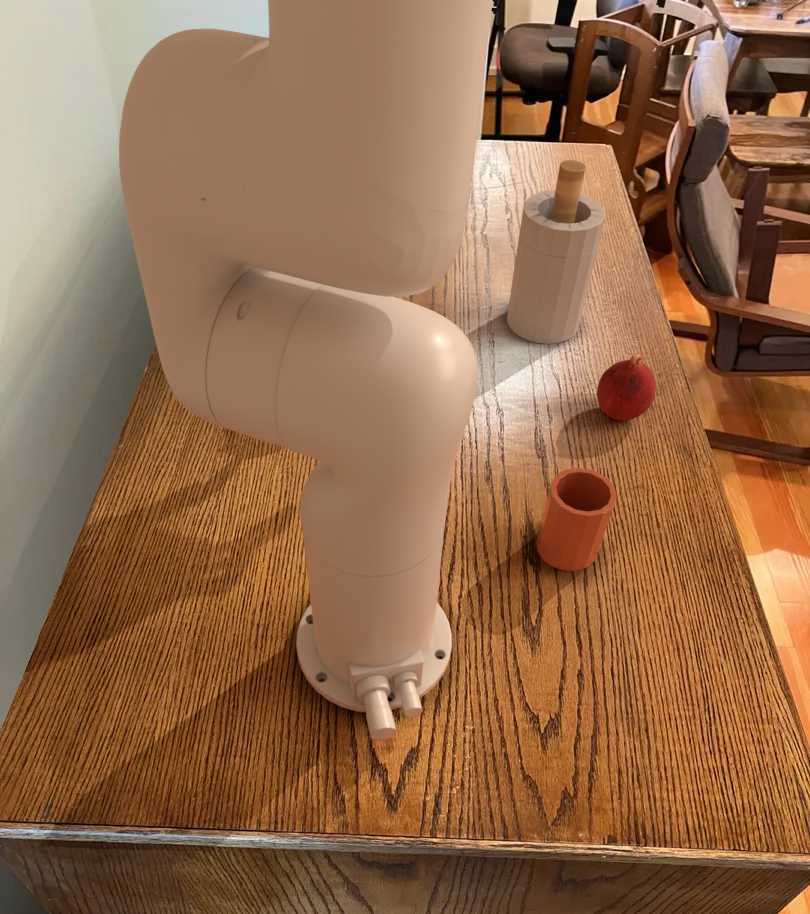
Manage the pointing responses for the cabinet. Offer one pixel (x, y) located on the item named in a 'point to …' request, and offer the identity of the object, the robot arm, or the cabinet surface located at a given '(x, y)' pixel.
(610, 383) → the onion
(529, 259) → the white hollow cylinder
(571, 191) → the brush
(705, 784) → the cabinet surface
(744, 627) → the cabinet surface
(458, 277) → the cabinet surface
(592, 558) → the holder
